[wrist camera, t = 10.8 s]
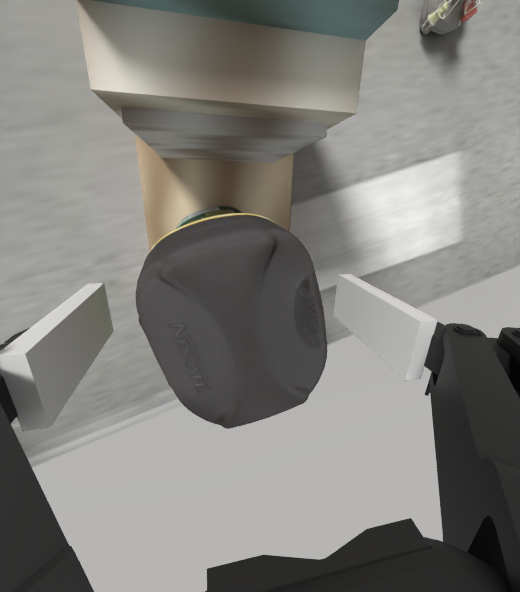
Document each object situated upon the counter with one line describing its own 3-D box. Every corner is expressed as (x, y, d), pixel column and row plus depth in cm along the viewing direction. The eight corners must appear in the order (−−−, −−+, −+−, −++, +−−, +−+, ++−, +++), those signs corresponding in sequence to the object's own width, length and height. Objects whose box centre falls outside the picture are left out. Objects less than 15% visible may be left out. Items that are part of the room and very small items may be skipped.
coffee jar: (268, 286, 29) (355, 411, 12) (198, 307, 29) (188, 470, 12) (245, 195, 26) (326, 193, 9) (165, 217, 25) (76, 262, 8)
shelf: (160, 309, 30) (68, 544, 10) (131, 69, 22) (-599, -1196, 2) (280, 302, 33) (403, 477, 12) (291, 86, 25) (666, -395, 5)
